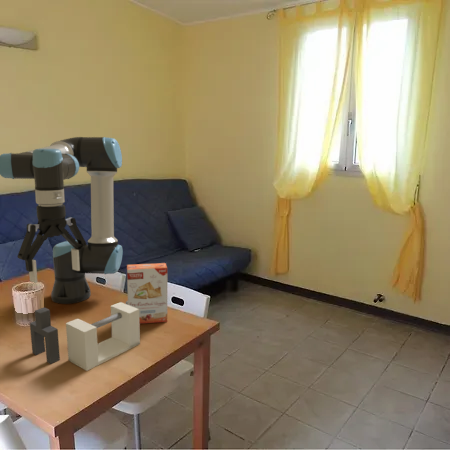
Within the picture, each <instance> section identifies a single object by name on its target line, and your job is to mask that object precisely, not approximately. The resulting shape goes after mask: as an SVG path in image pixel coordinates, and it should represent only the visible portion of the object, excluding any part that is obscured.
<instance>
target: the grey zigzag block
mask: <svg viewBox="0 0 450 450" xmlns="http://www.w3.org/2000/svg"><path fill="white" fill-rule="evenodd" d="M34 319H35V320H33V321H31V322H29V329H30V340H31V351H32V354H34V355H35V356H37V355H39V354H42V353H44V352H45V354H46V363H48V364H49V365H52V364H54V363H57V362H59V361H60V360H61V357H60V344H59V332H58V330H59V329H58V328H57V327H55V326H53V325H52V323H51V310H50V309H49V308H47V307H41V308H37V309H35V310H34Z"/></svg>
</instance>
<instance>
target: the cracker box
mask: <svg viewBox="0 0 450 450" xmlns="http://www.w3.org/2000/svg"><path fill="white" fill-rule="evenodd" d="M126 277H127V279H126V280H127V284H126V285H127V286H126V287H127V301H128V305H130V306H132V307H135V308H137V309H139V324H140V325H143V324H154V323H167V322H168V312H169V311H168V266H167V262H166V263H165V262H161V263H139V264H137V263H136V264H126Z"/></svg>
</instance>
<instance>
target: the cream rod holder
mask: <svg viewBox="0 0 450 450" xmlns="http://www.w3.org/2000/svg"><path fill="white" fill-rule="evenodd" d="M108 324H111V337H109V338H107V339H105V340H102V341H101V342H99V343H98V329H99V328H101V327H103V326H105V325H108ZM140 326H141V324H139V309H137V308H135V307H132V306H130V305H127V304H126V303H125V302H122V301H120V302H118V303H115V304H112V305H110V316H108V317H105V318H103V319H100V320H98V321H96V322H93V323H89V322H86V321H85V320H82V319H80V318H75V319H73V320H70V321H68V322H66V323H65V329H66V330H65V331H66V343H67V360H68V361H69V362H71V363H72V364H74V365H76V366H77V367H79V368H81V369H82V370H84V371H87V372H88V371H89V370H92V369H93V368H96V367H98V366H99V365H101V364H104V363H105V362H107V361H109V360H111V359H113V358H115V357H117V356H119V355H121V354H123V353H125V352H127V351H128V350H130V349H132V348H135V347H136V346H139V345H140V344H141V337H140V336H141V334H140V333H141V332H140V331H141V330H140V328H141V327H140Z"/></svg>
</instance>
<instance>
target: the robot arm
mask: <svg viewBox="0 0 450 450" xmlns="http://www.w3.org/2000/svg"><path fill="white" fill-rule="evenodd" d="M122 162H123V155H122V151H121V146H120V143H119V142H118V141H117V139H116V138H114V137H113V138H112V137H105V136H100V137H99V136H96V137H95V136H93V137H92V136H87V137H83V136H75V137H74V136H73V137H69V138H64V139H61V140H56V141H54V142H52V143H51V144H50V145H49V146H44V147H41V148H40V147H39V148H34V149H31V150H28V151H23V152H19V153H18V152H16V153H14V152H8V153H2V154H0V177H2V178H4V179H12V180H16V179H19V180H20V179H22V180H23V179H25V180H26V179H27V180H28V179H29V180H30V179H31V180H33V181H34V192H35V193H34V194H35V203H36V204H37V206H36V207H35V208H36V216H37V220H38V222H37V224H36V223H35V224H32V223H27V224H26V232H25V235H24V237H23V241H22V242H21V243H22V244H21V246H20V248H19V251H18V254H17V259H18V260H23V261H24V263H25V270H26V272H28V276H29V282H31V283H34V284H37V283H39V282H38V273H37V261H36V259H34V258H35V256H36V255H37V254H38V252H39V250H40V249H41V247H42V245H43V244H44V242H45V241H47V239H48V238H54V237H60V236H61V237H62V238H64V239H65V240H66V241H62V242H59V243H56V244H55V245H54V246H53V248H52V261H53V271H54V273H53V274H54V283H53V286H52V289H51V294H50V297H51V301H52V302H54V303H57V304H66V305H67V304H69V305H70V304H77V303H79V302H83V301H86V300H87V299H89V298H90V297H91V288H90V287H91V286H89V283H88V281H87V279H86V274H94V275H95V274H97V275H98V274H101V275H107V274H108V275H112V274H116V273H117V272H118V271H119V270H120V267H121V264H122V260H123V253H124V252H123V246H122V245H120V244H119V243H118V242H119V241H118V240H119V239H117V238H116V237H115V226H114V223H115V221H114V220H115V218H114V215H115V213H114V212H115V211H114V210H115V209H114V207H115V206H114V177H115V175H116V174H118V169H120V168H122V165H123V164H122ZM80 168H86V173H87V174H88V175H89V176H90V204H91V205H90V208H91V209H90V212H91V213H90V214H91V215H90V217H91V219H90V221H91V222H90V223H91V225H90V226H91V236H90V238H89V239H88V240H87V241H86V239H85V238H84V236H83V235H82V232H81V231H80V229H79V227H78V225H77V220H76V218H75V217H71V216H68V217H67V218H66V216H67V214H66V213H67V212H66V205H65V204H64V203H65V202H66V201H65V184H64V183H65V182H64V180H70V179H72V178H73V177H75V176H76V175H77V174H78V173H79V170H80ZM66 226H68V228H69V229H70V231H71V233H72V235H73V236H72V235H71V234H70V233H69V231H68V229H66ZM38 230H39V231H38ZM37 232H38V233H37ZM36 233H37V234H36ZM34 238H35V239H34Z"/></svg>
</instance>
